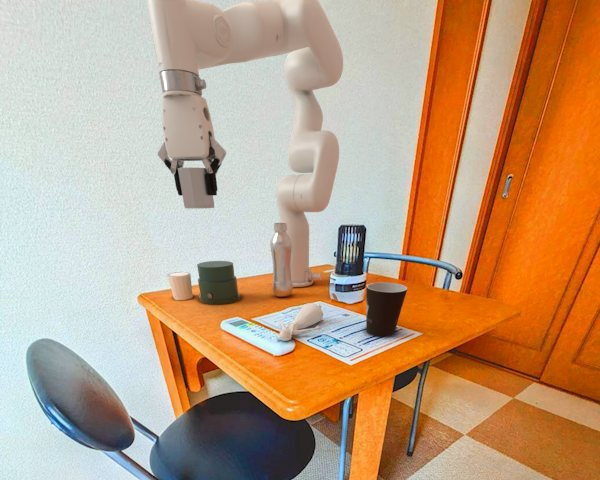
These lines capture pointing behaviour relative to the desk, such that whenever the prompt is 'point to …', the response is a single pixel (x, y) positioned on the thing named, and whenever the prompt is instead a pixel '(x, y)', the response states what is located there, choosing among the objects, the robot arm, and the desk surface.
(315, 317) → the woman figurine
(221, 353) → the desk surface
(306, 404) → the desk surface
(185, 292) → the pale pink short cylinder
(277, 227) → the silver metal bottle
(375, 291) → the coffee mug
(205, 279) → the dark green tiered cylinder
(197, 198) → the silver cup
